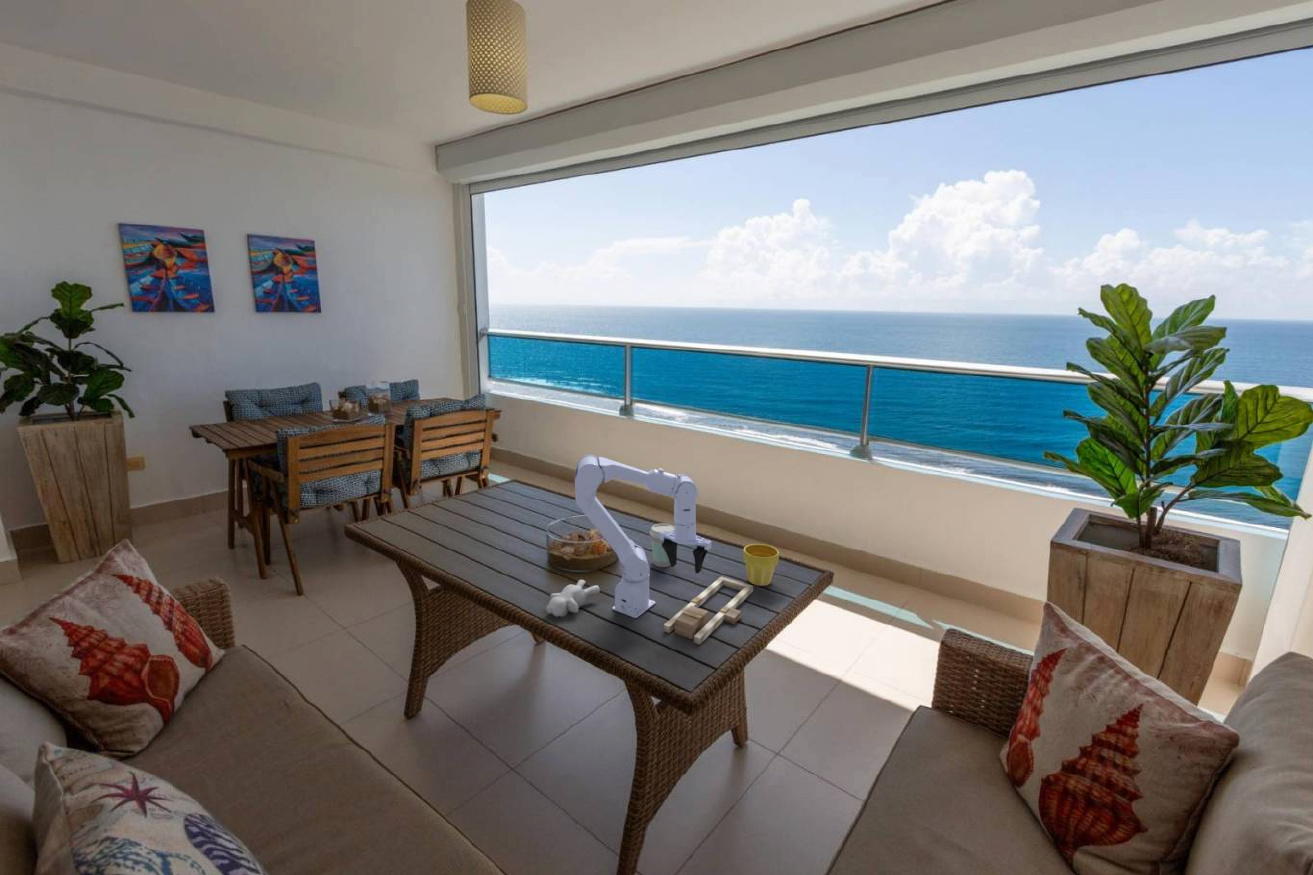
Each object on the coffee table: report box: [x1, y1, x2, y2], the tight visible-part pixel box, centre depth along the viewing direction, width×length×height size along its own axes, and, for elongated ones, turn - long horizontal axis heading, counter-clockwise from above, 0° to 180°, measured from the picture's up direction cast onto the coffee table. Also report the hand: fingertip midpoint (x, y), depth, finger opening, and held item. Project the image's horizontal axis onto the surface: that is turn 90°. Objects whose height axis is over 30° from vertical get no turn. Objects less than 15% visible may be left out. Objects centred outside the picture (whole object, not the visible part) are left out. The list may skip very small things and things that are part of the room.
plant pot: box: [742, 543, 780, 587], centre depth 165 cm, size 10×10×10 cm
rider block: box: [674, 606, 709, 640], centre depth 140 cm, size 8×5×4 cm, turn 147°
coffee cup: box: [649, 523, 675, 568], centre depth 175 cm, size 8×8×12 cm
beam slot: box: [663, 576, 754, 645], centre depth 148 cm, size 32×13×2 cm, turn 147°
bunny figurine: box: [545, 579, 601, 618], centre depth 149 cm, size 10×5×15 cm
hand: (685, 568), depth 150 cm, fingers open, 7 cm apart
